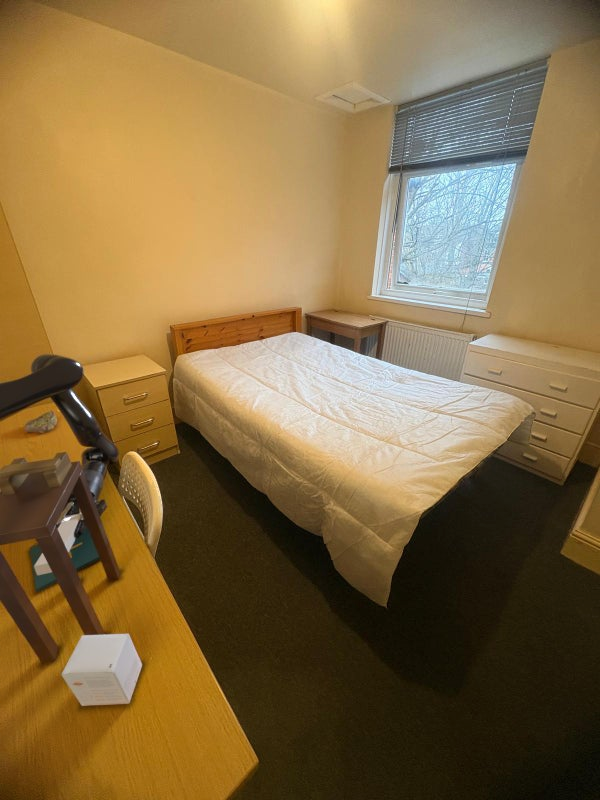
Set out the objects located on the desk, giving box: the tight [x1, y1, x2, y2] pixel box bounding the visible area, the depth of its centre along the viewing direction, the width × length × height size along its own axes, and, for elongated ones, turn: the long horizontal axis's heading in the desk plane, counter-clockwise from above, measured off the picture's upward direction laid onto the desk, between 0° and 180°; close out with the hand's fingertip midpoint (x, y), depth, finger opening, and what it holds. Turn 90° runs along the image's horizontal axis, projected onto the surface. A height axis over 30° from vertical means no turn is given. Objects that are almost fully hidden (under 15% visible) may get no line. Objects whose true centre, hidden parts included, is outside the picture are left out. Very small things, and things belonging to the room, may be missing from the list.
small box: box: [60, 632, 143, 707], centre depth 53 cm, size 8×6×10 cm
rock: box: [23, 410, 58, 434], centre depth 130 cm, size 13×10×4 cm
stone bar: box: [34, 513, 80, 575], centre depth 75 cm, size 4×17×2 cm, turn 17°
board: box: [29, 526, 101, 593], centre depth 78 cm, size 14×14×1 cm
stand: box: [0, 451, 121, 665], centre depth 58 cm, size 10×16×36 cm, turn 17°
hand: (66, 537), depth 77 cm, fingers closed on stone bar, 4 cm apart
